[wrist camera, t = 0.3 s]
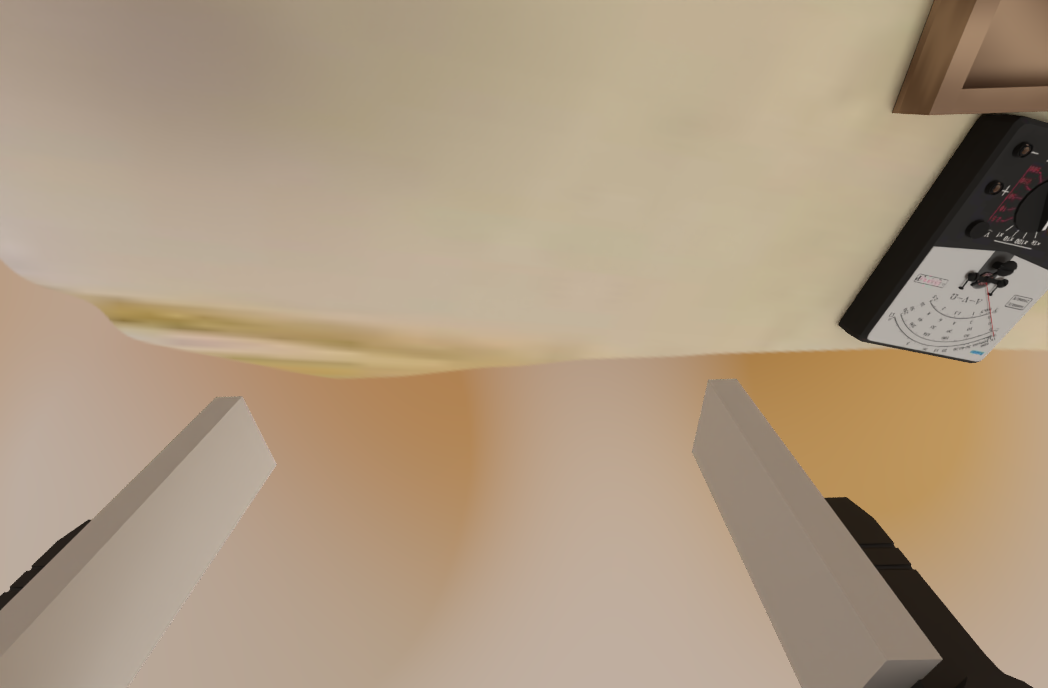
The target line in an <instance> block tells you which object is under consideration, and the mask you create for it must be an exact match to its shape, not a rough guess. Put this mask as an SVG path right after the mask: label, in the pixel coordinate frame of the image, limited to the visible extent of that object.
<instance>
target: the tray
mask: <svg viewBox="0 0 1048 688" xmlns="http://www.w3.org/2000/svg"><path fill="white" fill-rule="evenodd" d="M1038 111H1048V0H934V3H933V6H932V8H931V11H930V14H929V16H928V19H927V22H926V24H925V27H924V30H923V32H922V35H921V38H920V40H919V43H918V46H917V48H916V51H915V54H914V56H913V59H912V62H911V64H910V67H909V70H908V72H907V75H906V78H905V80H904V83H903V86H902V88H901V91H900V94H899V96H898V99H897V102H896V104H895V107H894V110H893V112H892V113H901V114H919V115H945V114H976V113H1007V112H1038Z"/></svg>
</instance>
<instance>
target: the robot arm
mask: <svg viewBox="0 0 1048 688" xmlns="http://www.w3.org/2000/svg"><path fill="white" fill-rule="evenodd" d="M692 453H693V455H694V457H695V459H696V461H697V464H698V466H699V468H700V470H701V472H702V474H703V476H704V478H705V481H706V483H707V485H708V487H709V489H710V491H711V494H712V496H713V498H714V500H715V502H716V504H717V507H718V509H719V511H720V513H721V515H722V517H723V520H724V522H725V524H726V526H727V528H728V530H729V532H730V535H731V537H732V538H733V541H734V543H735V545H736V547H737V550H738V552H739V554H740V556H741V558H742V560H743V563H744V565H745V567H746V569H747V571H748V573H749V575H750V577H751V580H752V582H753V584H754V586H755V588H756V590H757V593H758V595H759V597H760V599H761V601H762V603H763V606H764V608H765V610H766V612H767V614H768V616H769V618H770V621H771V623H772V625H773V627H774V629H775V631H776V634H777V636H778V638H779V640H780V642H781V644H782V647H783V649H784V651H785V653H786V655H787V657H788V659H789V662H790V664H791V666H792V668H793V670H794V672H795V675H796V677H797V679H798V681H799V683H800V685H801V687H802V688H1033V687H1031V686H1030V685H1028V684H1027V683H1025V682H1023V681H1021V680H1018V679H1016V678H1013V677H1011V676H1009V675H1006V674H1004V673H1003V672H1002V671H1001V670H999V669H998V668H997V667H996V665H994V663H993V662H992V661H991V660H990V659H989V658H988V657H987V656H986V655H985V654H984V652H983V651H982V650H981V649H980V648H979V646H978V645H977V644H976V643H975V641H974V640H973V639H972V638H971V637H970V635H969V634H968V633H967V632H966V631H965V629H964V628H963V627H962V626H961V624H960V623H959V622H958V621H957V619H956V618H955V617H954V616H953V615H952V614H951V612H950V611H949V610H948V608H947V607H946V606H945V605H944V604H943V602H942V601H941V600H940V599H939V597H938V596H937V595H936V594H935V593H934V591H933V590H932V589H931V588H930V586H929V585H928V584H927V583H926V582H925V580H924V579H923V578H922V577H921V575H920V574H919V573H918V572H917V571H916V570H913V569H912V567H911V563H910V562H909V561H908V560H907V558H906V557H905V556H904V555H903V553H902V552H901V551H900V550H899V549H898V548H895V546H894V543H893V541H892V540H891V539H890V538H889V536H888V535H887V534H886V533H885V531H884V530H883V529H882V528H881V527H880V525H879V524H878V523H877V522H876V520H874V518H873V517H872V516H870V515H869V514H868V513H866V512H865V511H864V510H862V509H861V508H860V507H858V506H857V505H856V504H855V503H853V502H852V501H851V500H849V499H848V498H847V497H838V498H824V497H823V496H822V495H821V493H820V492H819V490H818V489H817V488H816V486H815V485H814V484H813V482H812V481H811V480H810V478H809V477H808V476H807V474H806V473H805V472H804V470H803V469H802V467H801V466H800V465H799V463H798V462H797V461H796V459H795V458H794V456H793V455H792V454H791V453H790V451H789V450H788V448H787V447H786V446H785V444H784V443H783V442H782V440H781V439H780V437H779V436H778V435H777V433H776V432H775V431H774V429H773V428H772V427H771V425H770V424H769V423H768V421H767V420H766V419H765V417H764V416H763V414H762V413H761V412H760V411H759V409H758V408H757V406H756V405H755V404H754V402H753V401H752V399H751V398H750V397H749V395H748V394H747V393H746V391H745V390H744V389H743V387H742V386H741V385H740V383H739V382H738V380H737V379H716V380H708V383H707V388H706V392H705V396H704V401H703V406H702V410H701V414H700V418H699V423H698V427H697V432H696V436H695V440H694V445H693V449H692ZM275 466H276V462H275V460H274V458H273V456H272V454H271V452H270V451H269V448H268V447H267V444H266V442H265V440H264V438H263V436H262V435H261V432H260V431H259V428H258V427H257V425H256V422H255V420H254V418H253V416H252V415H251V412H250V410H249V408H248V406H247V405H246V403H245V401H244V399H243V397H242V396H238V397H216V398H215V399H214V400H213V401H212V402H211V403H210V404H209V405H208V406H207V407H206V408H205V409H204V410H203V411H202V412H201V413H200V414H199V415H198V416H197V417H196V418H194V419H193V420H192V421H191V422H190V423H189V424H188V426H186V427H185V428H184V429H183V430H182V431H181V432H180V434H178V435H177V436H176V437H175V438H174V439H173V440H172V441H171V442H170V443H169V444H168V445H167V446H166V447H165V448H164V449H163V450H162V451H161V452H160V453H159V454H158V455H157V456H156V457H155V458H154V459H153V460H152V461H151V462H150V463H149V464H148V465H147V466H146V467H145V468H144V469H143V470H142V471H141V472H140V473H139V474H138V475H137V476H136V477H135V478H134V479H133V480H132V481H131V482H130V483H129V484H128V485H127V486H126V487H125V488H124V489H123V490H122V491H121V492H120V493H119V494H118V495H117V496H116V497H115V498H114V499H113V500H112V501H111V502H110V503H109V504H108V505H107V506H106V507H105V508H103V509H102V510H101V511H100V513H98V514H97V516H95V517H94V519H92V520H88V521H86V522H84V523H83V524H81V525H80V526H79V527H77V528H76V529H75V530H73V531H71V532H70V533H68V534H67V535H66V536H64V537H63V538H61V539H60V540H59V541H57V542H56V543H55V544H54V545H53V546H52V547H51V548H50V549H49V550H48V551H47V552H46V553H45V554H44V555H43V556H42V557H40V558H39V559H38V560H37V561H36V562H35V563H34V564H33V565H32V569H31V570H30V571H26V572H25V573H24V574H23V575H22V576H21V577H20V578H19V579H18V580H16V582H14V583H13V584H12V585H11V586H10V590H9V591H8V592H4V593H3V594H2V595H1V596H0V688H128V687H129V685H130V684H131V682H132V681H133V679H134V678H135V676H136V675H137V673H138V672H139V670H140V669H141V667H142V665H143V664H144V663H145V661H146V660H147V658H148V657H149V655H150V654H151V652H152V651H153V649H154V648H155V646H156V645H157V643H158V642H159V640H160V639H161V637H162V636H163V634H164V633H165V631H166V630H167V628H168V627H169V625H170V624H171V622H172V621H173V619H174V618H175V616H176V615H177V613H178V612H179V610H180V609H181V607H182V606H183V604H184V603H185V601H186V600H187V598H188V597H189V595H190V594H191V592H192V591H193V589H194V588H195V586H196V585H197V583H198V582H199V580H200V579H201V577H202V576H203V574H204V573H205V571H206V570H207V568H208V567H209V565H210V564H211V562H212V561H213V559H214V558H215V556H216V554H217V553H218V552H219V550H220V549H221V547H222V546H223V544H224V543H225V541H226V540H227V538H228V537H229V535H230V534H231V532H232V531H233V529H234V528H235V526H236V525H237V523H238V522H239V520H240V519H241V517H242V516H243V514H244V513H245V511H246V510H247V508H248V507H249V505H250V504H251V502H252V501H253V499H254V498H255V496H256V495H257V493H258V492H259V490H260V489H261V487H262V486H263V484H264V483H265V481H266V480H267V478H268V477H269V475H270V474H271V472H272V471H273V469H274V468H275Z"/></svg>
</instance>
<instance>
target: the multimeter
mask: <svg viewBox="0 0 1048 688" xmlns="http://www.w3.org/2000/svg"><path fill="white" fill-rule="evenodd" d="M1047 290H1048V123H1046V122H1042V121H1039V120H1035V119H1032V118H1028V117H1024V116H1016V115H1009V114H999V115H985V116H981V117H980V118H979V119H978V120H977V121H976V123H975V124H974V126H973V127H972V129H971V130H970V131H969V133H968V134H967V136H966V137H965V139H964V140H963V142H962V143H961V145H960V146H959V148H958V149H957V150H956V152H955V153H954V155H953V156H952V158H951V159H950V161H949V162H948V164H947V165H946V167H945V168H944V170H943V171H942V172H941V174H940V175H939V177H938V178H937V180H936V181H935V183H934V184H933V186H932V187H931V189H930V190H929V192H928V193H927V194H926V196H925V197H924V199H923V200H922V202H921V203H920V205H919V206H918V208H917V209H916V211H915V212H914V214H913V215H912V216H911V218H910V219H909V221H908V222H907V224H906V225H905V227H904V228H903V230H902V231H901V233H900V234H899V236H898V237H897V238H896V240H895V241H894V243H893V244H892V246H891V247H890V249H889V250H888V252H887V253H886V255H885V256H884V258H883V259H882V260H881V262H880V263H879V265H878V266H877V268H876V269H875V271H874V272H873V274H872V275H871V277H870V278H869V280H868V281H867V282H866V284H865V285H864V287H863V288H862V290H861V291H860V293H859V294H858V296H857V297H856V299H855V300H854V301H853V303H852V304H851V306H850V307H849V309H848V310H847V312H846V313H845V315H844V316H843V318H842V319H841V321H840V323H839V326H840V327H841V328H843V329H844V330H845V331H846V332H847V333H848V334H850V335H851V336H853V337H855V338H856V339H858V340H860V341H862V342H867V343H872V344H877V345H882V346H887V347H892V348H898V349H903V350H908V351H913V352H918V353H923V354H928V355H933V356H938V357H943V358H948V359H953V360H958V361H963V362H968V363H976V362H979V361H981V360H982V359H983V358H985V357H986V355H987V354H988V353H989V352H990V351H991V350H992V349H993V348H994V347H995V346H996V345H997V344H998V343H999V342H1000V340H1001V339H1002V338H1003V337H1004V336H1005V335H1006V334H1007V333H1008V332H1009V331H1010V330H1011V329H1012V328H1013V327H1014V325H1015V324H1016V323H1017V322H1018V321H1019V320H1020V319H1021V318H1022V317H1023V316H1024V315H1025V314H1026V313H1027V312H1028V310H1029V309H1030V308H1031V307H1032V306H1033V305H1034V304H1035V303H1036V302H1037V301H1038V300H1039V299H1040V298H1041V297H1042V295H1043V294H1044V293H1045V292H1046V291H1047Z"/></svg>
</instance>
